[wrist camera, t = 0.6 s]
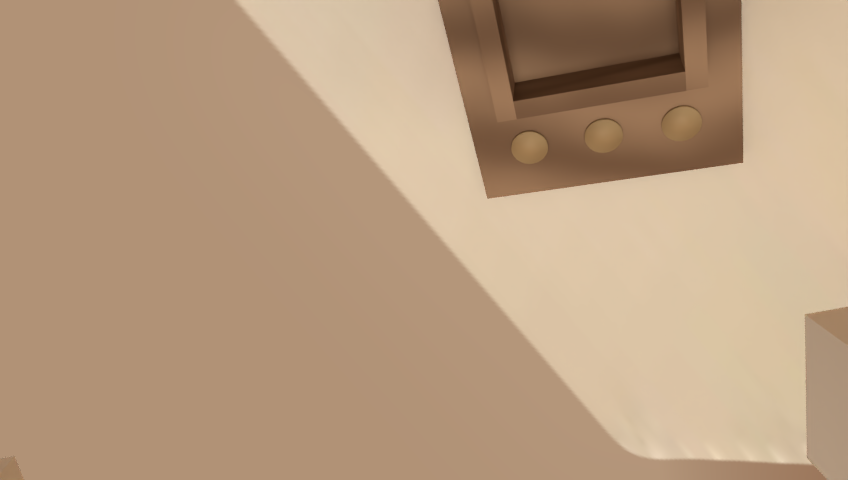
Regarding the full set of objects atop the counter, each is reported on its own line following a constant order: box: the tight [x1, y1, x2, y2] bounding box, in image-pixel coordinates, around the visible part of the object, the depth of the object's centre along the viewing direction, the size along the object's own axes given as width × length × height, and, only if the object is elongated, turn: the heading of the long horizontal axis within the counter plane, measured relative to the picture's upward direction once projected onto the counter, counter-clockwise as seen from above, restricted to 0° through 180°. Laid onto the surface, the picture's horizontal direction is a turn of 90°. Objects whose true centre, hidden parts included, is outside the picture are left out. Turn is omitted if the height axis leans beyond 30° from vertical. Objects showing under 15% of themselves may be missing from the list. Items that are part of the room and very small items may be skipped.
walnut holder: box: [438, 0, 743, 198], centre depth 36 cm, size 18×14×3 cm
